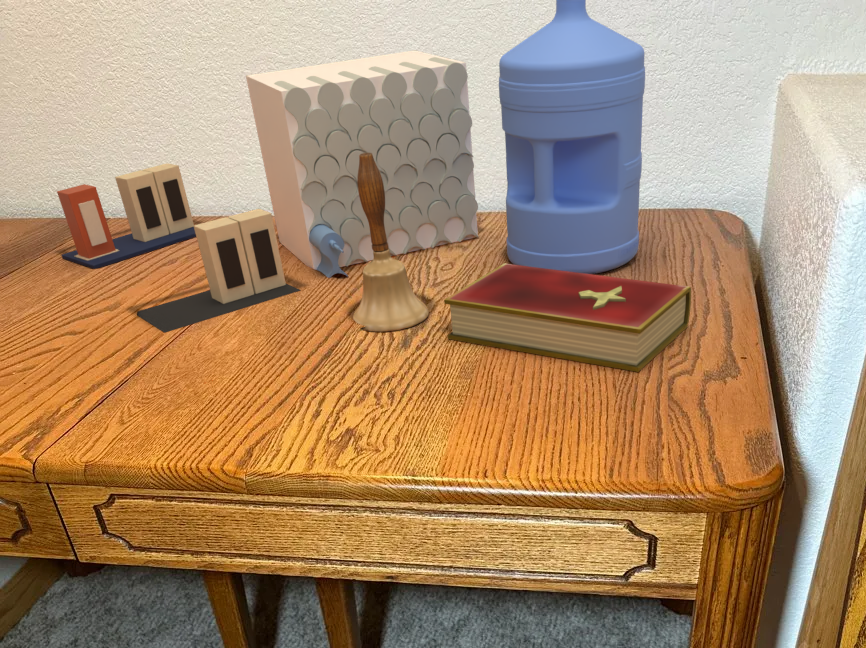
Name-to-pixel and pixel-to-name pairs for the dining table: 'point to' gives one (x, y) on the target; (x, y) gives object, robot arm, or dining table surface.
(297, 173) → the scalloped white box
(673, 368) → the dining table surface
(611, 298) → the hardcover book
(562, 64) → the water jug
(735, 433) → the dining table surface
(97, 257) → the mat
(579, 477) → the dining table surface
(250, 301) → the front word mat
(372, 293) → the hand bell
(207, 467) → the dining table surface
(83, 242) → the red rectangular block
